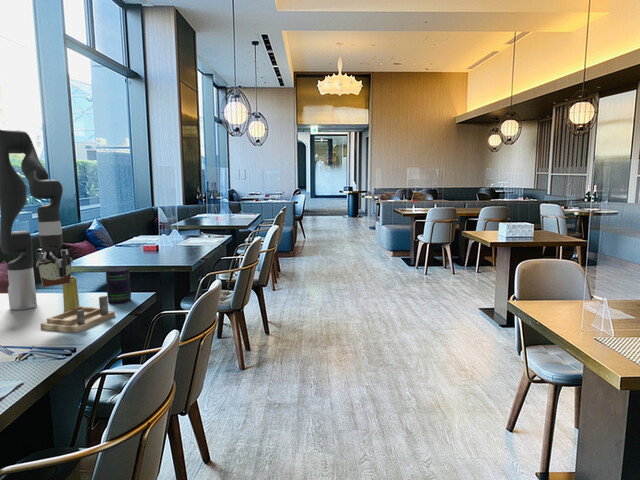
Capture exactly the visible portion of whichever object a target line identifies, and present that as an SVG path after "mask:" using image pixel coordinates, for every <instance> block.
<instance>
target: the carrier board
mask: <svg viewBox="0 0 640 480" xmlns="http://www.w3.org/2000/svg"><path fill="white" fill-rule="evenodd" d="M98 302H99V307H92V306H91V307H89V306H79V307H78V308H75V309H73V310H70V311H67V312H64V311H63V312H62V313H59V314H56V315H53V316H51V317H48V318H46V321H44V322H41V323H40V324H39V325H40V329H41V330H46V331H55V332H56V331H57V332H65V333H75V334H77V333H79V332H82V331H84V330H87V329H89V328H92V327H93V326H96V325H98V324H100V323H103V322H105V321H107V320H110V319H112V318H115V317H116V311H114V310H113V311H112V310H109V304H108V298H107V295H101V296H98Z"/></svg>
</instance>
